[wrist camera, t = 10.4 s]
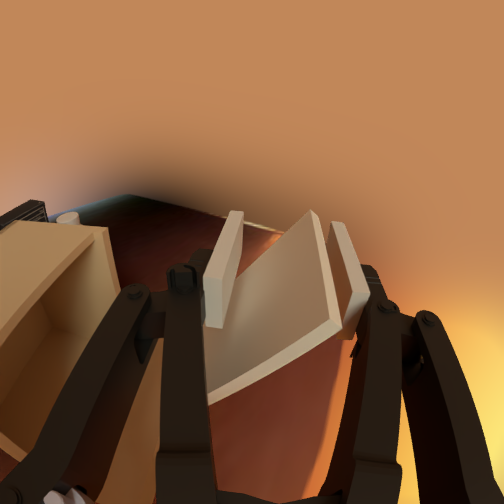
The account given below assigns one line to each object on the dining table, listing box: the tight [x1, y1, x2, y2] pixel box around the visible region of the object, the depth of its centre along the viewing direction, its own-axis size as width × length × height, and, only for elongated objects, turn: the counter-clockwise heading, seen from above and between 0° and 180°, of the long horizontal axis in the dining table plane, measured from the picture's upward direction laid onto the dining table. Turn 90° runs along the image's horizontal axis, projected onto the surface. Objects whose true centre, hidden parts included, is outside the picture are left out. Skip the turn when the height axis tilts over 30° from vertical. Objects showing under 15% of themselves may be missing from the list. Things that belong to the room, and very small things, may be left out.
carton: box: [0, 220, 121, 462], centre depth 20 cm, size 14×20×16 cm
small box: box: [0, 200, 49, 231], centre depth 43 cm, size 11×6×10 cm, turn 161°
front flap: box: [95, 210, 342, 504], centre depth 17 cm, size 1×20×26 cm
